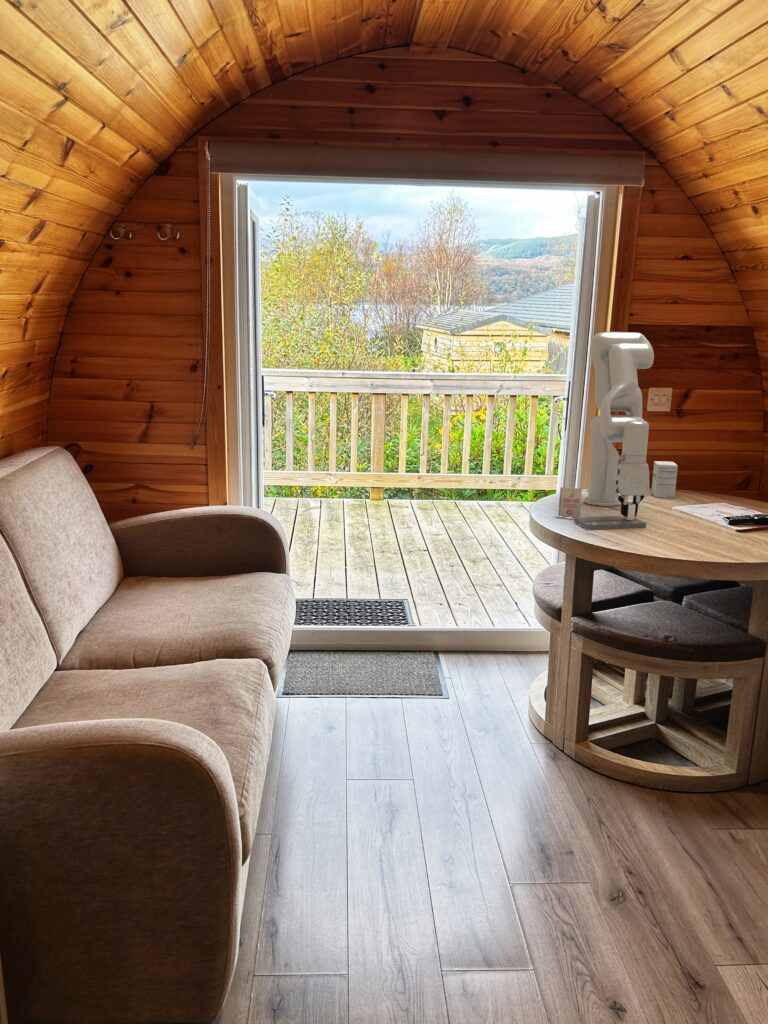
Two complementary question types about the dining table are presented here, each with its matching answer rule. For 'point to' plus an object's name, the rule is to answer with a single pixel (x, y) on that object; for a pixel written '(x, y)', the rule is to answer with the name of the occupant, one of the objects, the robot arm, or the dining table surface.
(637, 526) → the fader board
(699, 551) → the dining table surface
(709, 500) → the dining table surface
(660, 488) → the supplement box
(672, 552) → the dining table surface
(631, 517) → the fader knob
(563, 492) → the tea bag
